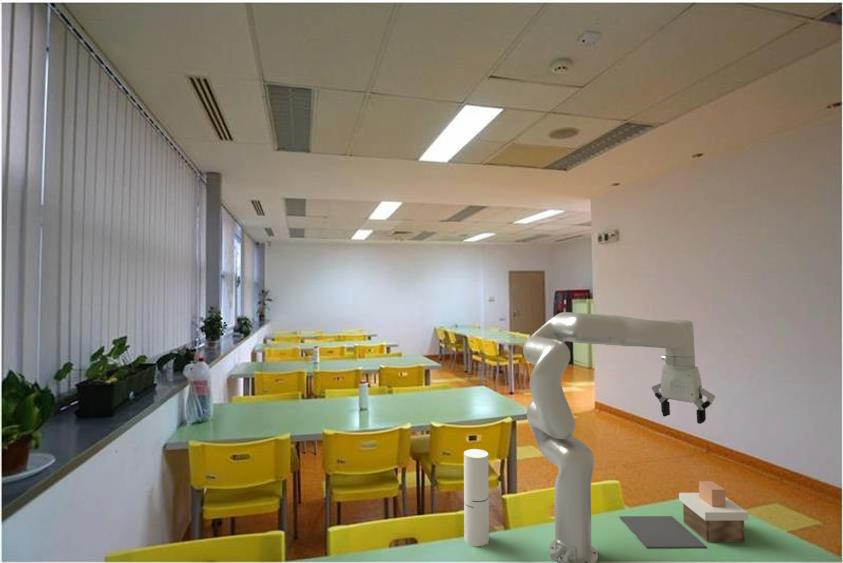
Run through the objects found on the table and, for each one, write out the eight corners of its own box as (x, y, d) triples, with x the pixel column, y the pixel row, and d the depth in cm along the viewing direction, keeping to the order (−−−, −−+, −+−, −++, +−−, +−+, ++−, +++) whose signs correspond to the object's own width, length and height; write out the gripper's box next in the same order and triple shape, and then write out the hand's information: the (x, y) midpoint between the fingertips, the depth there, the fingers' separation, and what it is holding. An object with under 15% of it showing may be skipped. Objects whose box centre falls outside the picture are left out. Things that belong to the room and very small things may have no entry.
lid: (705, 520, 126) (704, 494, 126) (679, 500, 138) (678, 476, 139) (748, 520, 126) (748, 494, 126) (718, 499, 139) (718, 476, 139)
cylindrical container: (488, 548, 124) (487, 458, 124) (463, 545, 125) (462, 456, 126) (489, 534, 131) (488, 449, 131) (465, 531, 132) (465, 448, 133)
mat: (646, 548, 123) (646, 546, 123) (619, 517, 140) (619, 516, 140) (706, 547, 124) (706, 546, 124) (671, 517, 140) (671, 516, 140)
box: (706, 541, 126) (706, 513, 127) (683, 522, 137) (683, 496, 138) (744, 541, 127) (743, 513, 127) (718, 522, 138) (717, 496, 138)
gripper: (644, 359, 135) (647, 415, 135) (706, 366, 121) (709, 428, 121) (657, 357, 140) (659, 410, 139) (718, 363, 125) (721, 423, 125)
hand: (683, 419), depth 130 cm, fingers open, 9 cm apart
